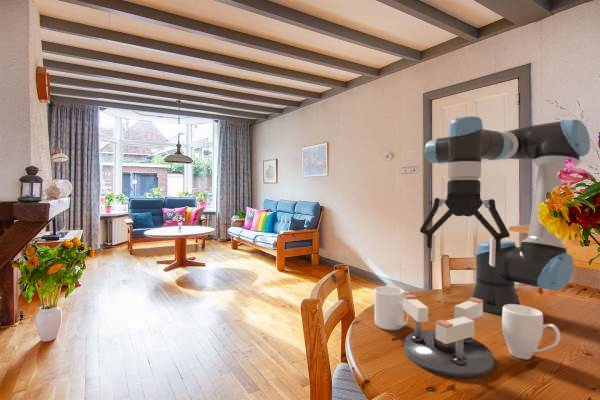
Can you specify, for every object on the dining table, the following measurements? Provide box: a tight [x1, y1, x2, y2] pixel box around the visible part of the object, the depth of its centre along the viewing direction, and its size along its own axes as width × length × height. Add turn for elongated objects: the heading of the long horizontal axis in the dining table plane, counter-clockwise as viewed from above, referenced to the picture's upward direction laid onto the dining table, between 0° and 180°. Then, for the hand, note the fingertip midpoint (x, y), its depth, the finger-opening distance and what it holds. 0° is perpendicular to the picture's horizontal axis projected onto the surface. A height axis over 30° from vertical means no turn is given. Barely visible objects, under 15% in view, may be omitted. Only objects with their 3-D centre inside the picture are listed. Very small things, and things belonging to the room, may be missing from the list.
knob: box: [435, 317, 475, 359], centre depth 73 cm, size 9×3×9 cm, turn 115°
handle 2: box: [453, 296, 484, 339], centre depth 85 cm, size 9×3×9 cm, turn 126°
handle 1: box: [403, 294, 429, 337], centre depth 86 cm, size 9×3×9 cm, turn 5°
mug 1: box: [374, 285, 410, 331], centre depth 97 cm, size 9×12×11 cm
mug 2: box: [501, 304, 561, 360], centre depth 79 cm, size 12×8×11 cm
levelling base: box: [404, 329, 494, 379], centre depth 81 cm, size 20×20×6 cm
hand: (461, 263), depth 83 cm, fingers open, 13 cm apart
